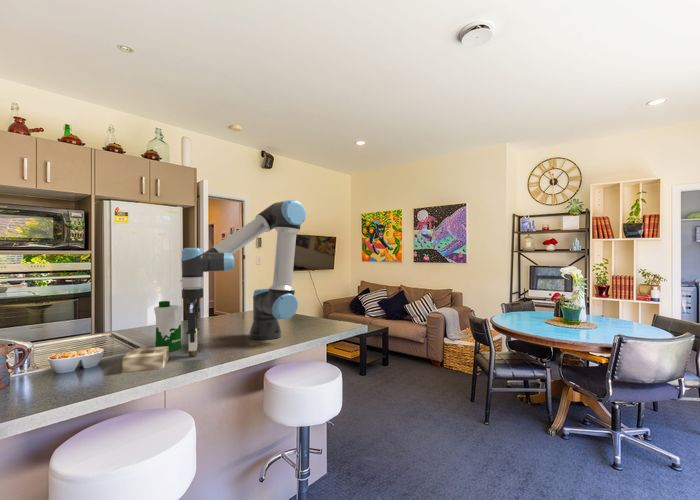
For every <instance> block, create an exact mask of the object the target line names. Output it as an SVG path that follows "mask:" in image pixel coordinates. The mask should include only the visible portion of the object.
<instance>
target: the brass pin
mask: <svg viewBox="0 0 700 500" xmlns="http://www.w3.org/2000/svg"><path fill="white" fill-rule="evenodd" d="M197 328H198V327H197ZM197 328H196V333H197V334H198V330H197ZM197 353H198V349H197V350H196V351H189V350H188V354H189V356H195V355H197Z"/></svg>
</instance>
